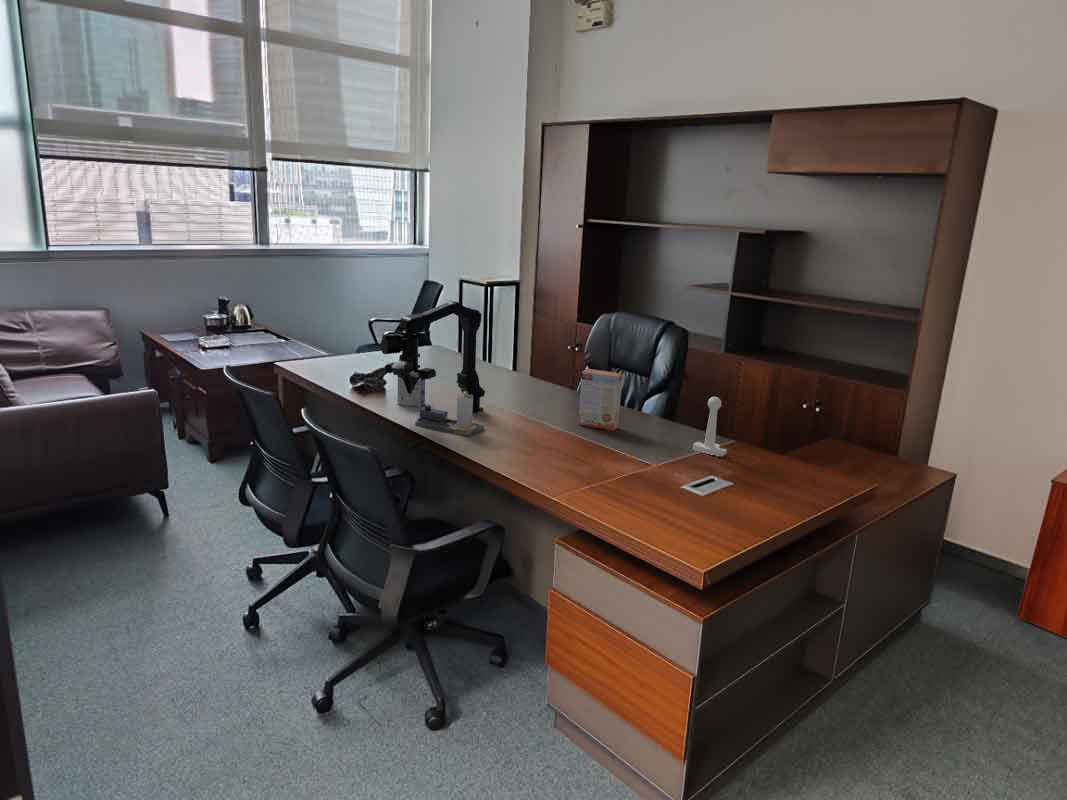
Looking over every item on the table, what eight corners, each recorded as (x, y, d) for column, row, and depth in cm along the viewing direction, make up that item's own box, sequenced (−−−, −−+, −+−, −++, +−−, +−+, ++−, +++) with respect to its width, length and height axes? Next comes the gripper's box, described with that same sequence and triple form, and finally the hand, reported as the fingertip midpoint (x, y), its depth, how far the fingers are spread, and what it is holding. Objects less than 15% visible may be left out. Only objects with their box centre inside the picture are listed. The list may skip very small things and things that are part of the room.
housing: (458, 423, 263) (459, 389, 259) (472, 424, 263) (473, 390, 259) (456, 427, 258) (457, 393, 255) (470, 428, 258) (471, 394, 255)
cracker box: (618, 427, 274) (623, 373, 268) (613, 431, 269) (618, 376, 263) (583, 421, 279) (587, 367, 274) (577, 425, 274) (581, 370, 268)
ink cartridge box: (425, 403, 291) (426, 367, 287) (420, 407, 286) (421, 371, 282) (402, 400, 293) (402, 365, 289) (396, 404, 288) (397, 368, 284)
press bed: (430, 418, 272) (430, 412, 272) (484, 429, 264) (484, 423, 263) (415, 425, 263) (415, 419, 263) (470, 436, 255) (470, 430, 254)
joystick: (690, 450, 253) (697, 394, 247) (701, 445, 258) (707, 390, 253) (720, 459, 246) (727, 401, 241) (730, 453, 252) (737, 397, 246)
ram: (424, 416, 269) (425, 403, 267) (448, 421, 265) (448, 408, 263) (419, 419, 265) (419, 406, 264) (443, 423, 262) (443, 410, 260)
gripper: (374, 352, 259) (375, 394, 263) (419, 359, 252) (419, 403, 256) (393, 346, 269) (393, 388, 273) (437, 353, 262) (436, 395, 266)
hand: (409, 393), depth 267 cm, fingers closed
